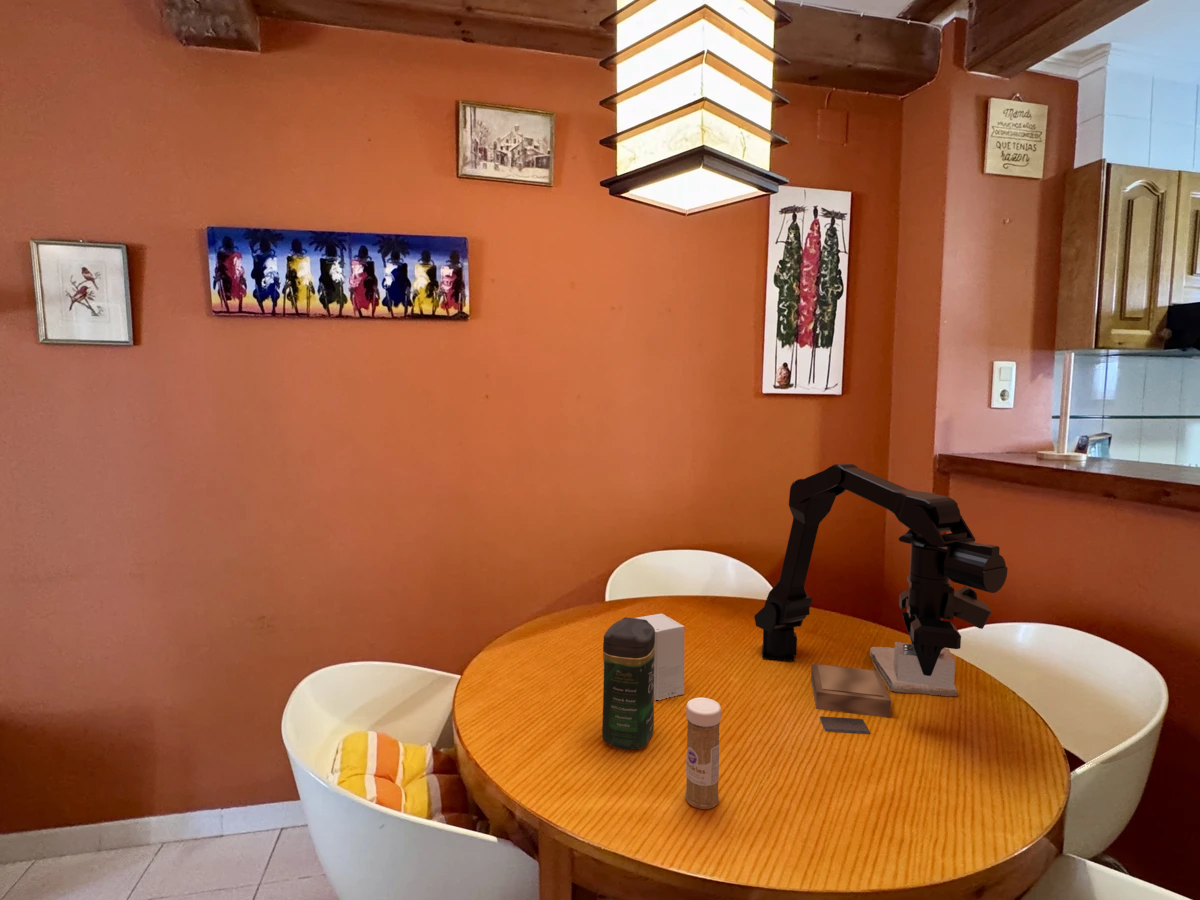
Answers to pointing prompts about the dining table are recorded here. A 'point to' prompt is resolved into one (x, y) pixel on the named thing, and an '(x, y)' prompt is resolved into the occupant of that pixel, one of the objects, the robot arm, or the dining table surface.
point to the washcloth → (885, 666)
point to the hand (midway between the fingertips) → (924, 668)
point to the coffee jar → (628, 683)
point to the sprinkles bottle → (702, 752)
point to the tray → (850, 690)
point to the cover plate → (844, 725)
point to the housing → (912, 672)
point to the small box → (667, 656)
